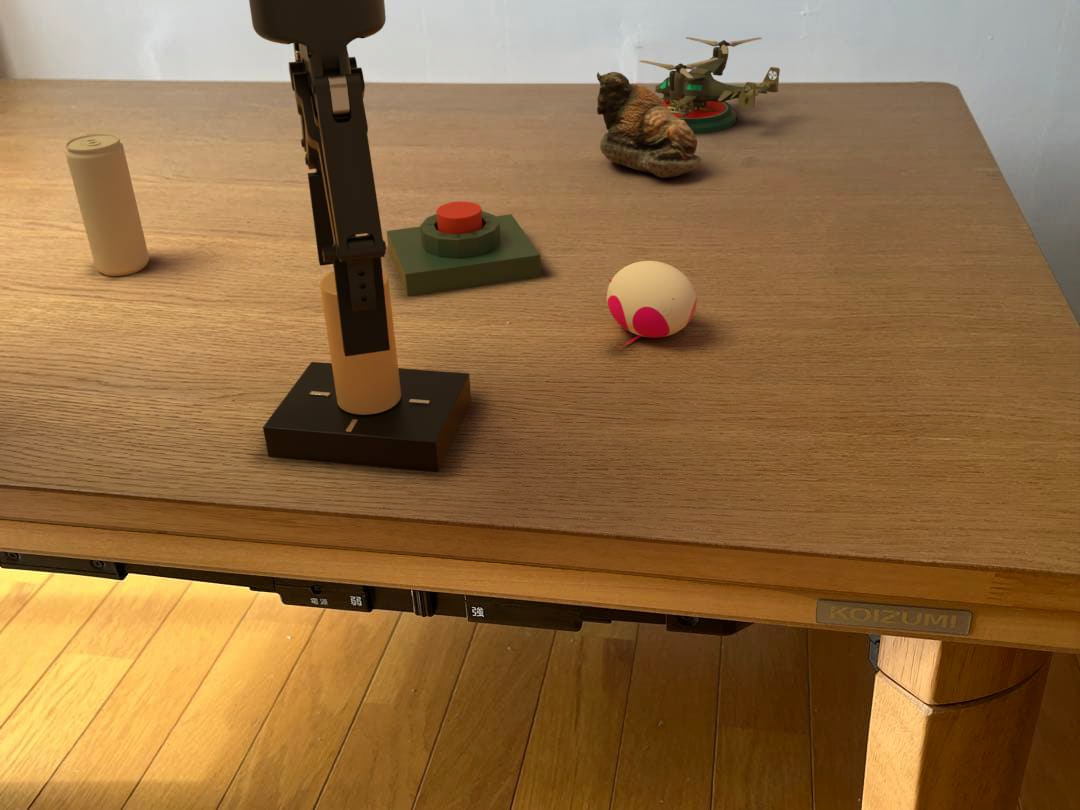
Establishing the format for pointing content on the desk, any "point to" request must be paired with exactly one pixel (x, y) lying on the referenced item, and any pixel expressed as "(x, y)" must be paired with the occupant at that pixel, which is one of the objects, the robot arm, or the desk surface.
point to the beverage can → (107, 203)
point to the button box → (462, 255)
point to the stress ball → (651, 299)
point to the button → (459, 217)
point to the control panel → (370, 422)
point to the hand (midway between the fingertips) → (351, 303)
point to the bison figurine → (643, 129)
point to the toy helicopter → (709, 90)
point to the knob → (361, 361)
